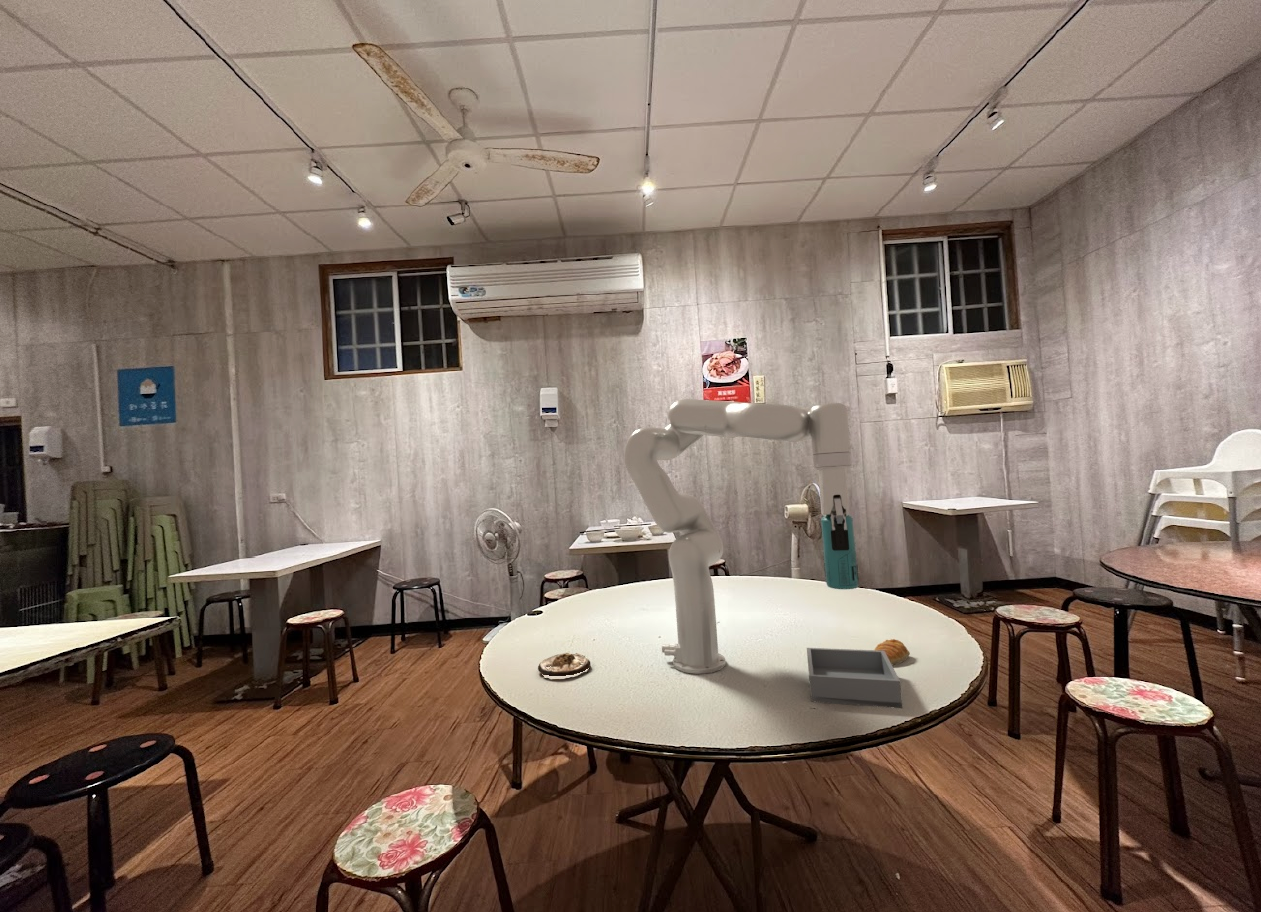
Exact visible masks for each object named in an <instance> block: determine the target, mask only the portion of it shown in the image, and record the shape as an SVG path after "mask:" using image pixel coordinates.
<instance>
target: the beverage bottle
mask: <svg viewBox="0 0 1261 912" xmlns="http://www.w3.org/2000/svg"><path fill="white" fill-rule="evenodd" d="M833 502H834V500H833ZM833 515H836V514H833ZM845 516H846V514H845ZM830 517H831V516H830V514H828V515H827V517H824V516H823V515H822V517H821V519H820V525H821V533H822V534H821V535H822V553H823V565H824V569H823V570H824V575H825V576H824V578H825V583H826V586H827V588H830V589H833V590H854V589H857V588H858V587H859V584H860V578H859V570H858V567H859V566H858V560H857V555H858V553H857V550H856V539H855V533H854V523H853V520H854V519H853V517H852V516H851V515H850V514H849V515H847V516H846V525H847V530H848V538H849V550H839V551H834V550H833V549H832V542H831V530H832V525H831V518H830ZM834 524H835V523H834Z"/></svg>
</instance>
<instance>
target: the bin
mask: <svg viewBox="0 0 1261 912" xmlns="http://www.w3.org/2000/svg"><path fill="white" fill-rule="evenodd" d="M806 655H807V669H808V670H807V671H808V678H809V687H810V689H809V691H810V699H811V703H822V704H834V705H835V704H836V705H849V706H850V705H853V706H863V705H864V706H865V707H877V706H878V708H879V707H880V708H881V707H882V708H891V707H894V708H893V709H903V699H902V698H903V697H902V688H901V687H902V685H901V680H900V678H899V676H898V674H897V672H896V670H895V668H894V667H893V665H891V663H890V661H889V659H888V657H887V655H886V653H885V651H877V650H875V649H873V650H872V649H871V650H870V649H851V648H850V649H846V648H824V647H821V648H820V647H806Z"/></svg>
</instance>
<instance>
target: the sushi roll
mask: <svg viewBox="0 0 1261 912" xmlns="http://www.w3.org/2000/svg"><path fill="white" fill-rule="evenodd" d="M581 663H583V664H581ZM580 665H582V666H580ZM550 666H551V667H550ZM546 667H550V668H549V669H547V668H546ZM589 667H590V668H591V661H590V659H589V658H588V657H586V655H584V654H580V653H577V652H576V653H575V654H574V653H570V652H564V653H559V654H555V655H552V656H549V657H548V658H546V659H544V660H542V661H541V662H540V663H539V664H538V666H537V670H538V672H539V673H540V672H541V673H542V674H543V675H549V676H566V675H574V674H577V673H580V672H583V671H585V670H586V669H588V668H589ZM541 673H540V674H541Z"/></svg>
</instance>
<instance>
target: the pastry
mask: <svg viewBox="0 0 1261 912" xmlns="http://www.w3.org/2000/svg"><path fill="white" fill-rule="evenodd" d="M874 650H877V651H885V653H886V655H887V657H888V659H889V661H890V663H891V665H892V666H893V665H896V664H901V663H903V662H904V661H906V660H907V659H908V658H909V656H910V654H911V652H910V651H909V650H908V648H907V647H906V645H905V644H904V643H903V641H901V640H899V639H895V638H893V639H891V638H890V639H885V640H884V641H883V642H880V643H879V644H877V646H876V647H875V648H874Z"/></svg>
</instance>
